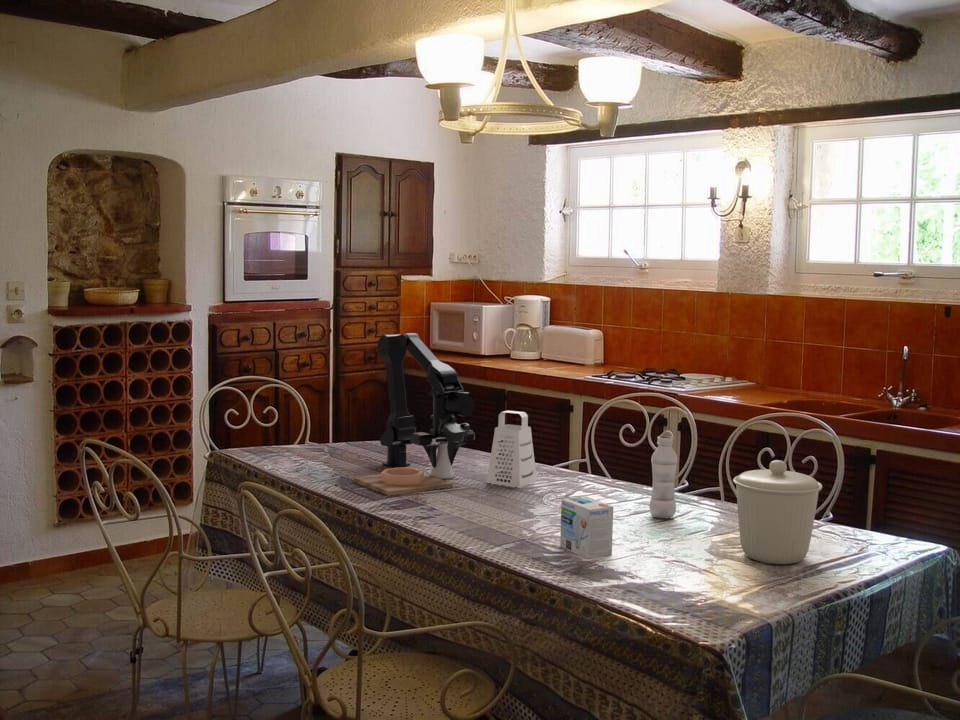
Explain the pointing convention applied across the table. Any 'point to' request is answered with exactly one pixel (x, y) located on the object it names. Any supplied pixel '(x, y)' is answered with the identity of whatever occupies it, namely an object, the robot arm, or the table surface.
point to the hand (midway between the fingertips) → (442, 466)
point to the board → (394, 489)
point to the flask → (442, 463)
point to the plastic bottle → (663, 479)
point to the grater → (512, 453)
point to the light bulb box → (586, 527)
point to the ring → (402, 476)
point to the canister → (776, 513)
